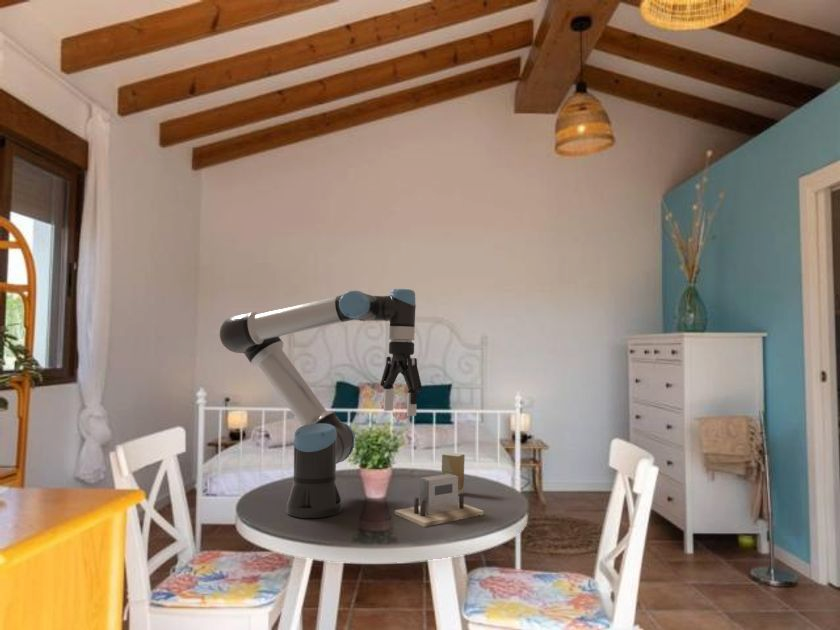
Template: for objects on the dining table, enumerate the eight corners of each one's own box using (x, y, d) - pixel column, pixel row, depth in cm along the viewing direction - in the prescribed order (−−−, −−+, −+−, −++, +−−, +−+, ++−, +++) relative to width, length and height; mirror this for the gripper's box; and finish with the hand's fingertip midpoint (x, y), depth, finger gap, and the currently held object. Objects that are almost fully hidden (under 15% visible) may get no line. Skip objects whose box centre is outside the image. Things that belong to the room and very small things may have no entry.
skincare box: (440, 493, 187) (440, 454, 187) (446, 490, 190) (446, 451, 191) (459, 495, 184) (459, 455, 184) (464, 492, 187) (464, 453, 188)
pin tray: (424, 526, 151) (424, 506, 152) (394, 514, 163) (394, 495, 163) (483, 514, 163) (483, 496, 163) (452, 503, 174) (452, 486, 175)
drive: (428, 514, 158) (429, 480, 159) (419, 511, 162) (420, 477, 162) (458, 509, 164) (458, 476, 165) (448, 505, 167) (448, 473, 168)
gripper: (435, 342, 168) (433, 417, 167) (392, 341, 189) (389, 408, 188) (413, 341, 164) (410, 418, 163) (371, 340, 185) (368, 408, 184)
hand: (399, 413), depth 176 cm, fingers open, 13 cm apart
